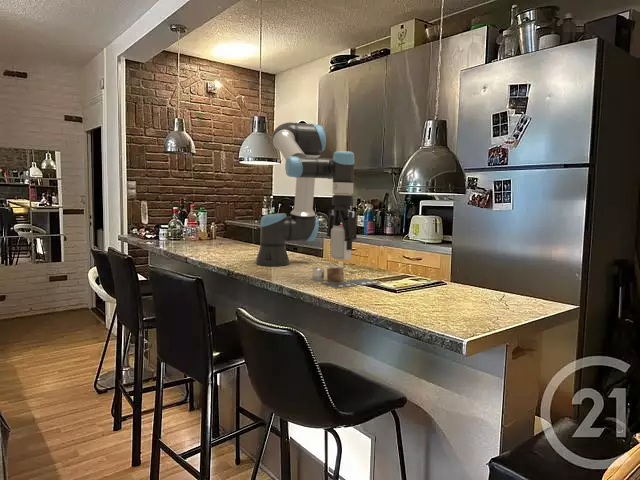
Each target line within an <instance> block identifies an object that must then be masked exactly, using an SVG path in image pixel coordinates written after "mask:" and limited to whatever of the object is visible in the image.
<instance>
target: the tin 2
mask: <svg viewBox="0 0 640 480" xmlns="http://www.w3.org/2000/svg"><path fill="white" fill-rule="evenodd" d="M340 267H341V266H338V265H331V266H329V268H340Z"/></svg>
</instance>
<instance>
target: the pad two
mask: <svg viewBox="0 0 640 480" xmlns="http://www.w3.org/2000/svg"><path fill="white" fill-rule="evenodd" d="M320 284H322V285H324V286H327V287H330V288H334V289H343V288H353V287H359V285H358V284H354V283H351V282H347V281H345V280H343V281H340V282H325V281H324V282H320Z"/></svg>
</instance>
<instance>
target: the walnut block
mask: <svg viewBox="0 0 640 480" xmlns="http://www.w3.org/2000/svg"><path fill="white" fill-rule="evenodd" d="M339 267H340V268H330V267H329V268H328V267H327V268H326V277H327V278H326V281H327V282H340V281H345V280H344V266H343V267H342V266H339Z"/></svg>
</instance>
